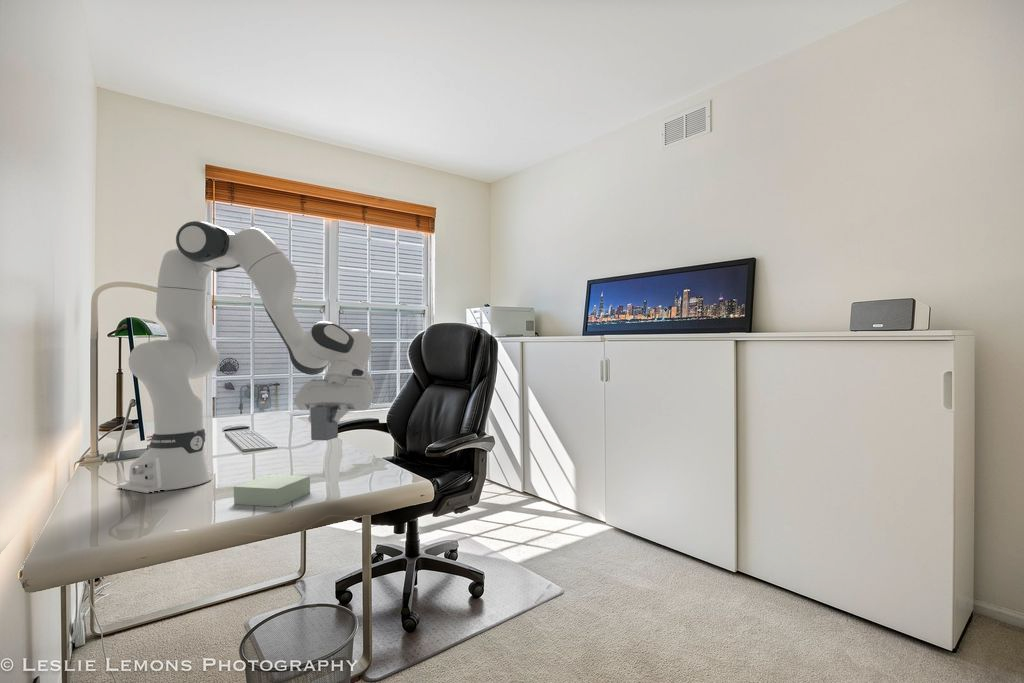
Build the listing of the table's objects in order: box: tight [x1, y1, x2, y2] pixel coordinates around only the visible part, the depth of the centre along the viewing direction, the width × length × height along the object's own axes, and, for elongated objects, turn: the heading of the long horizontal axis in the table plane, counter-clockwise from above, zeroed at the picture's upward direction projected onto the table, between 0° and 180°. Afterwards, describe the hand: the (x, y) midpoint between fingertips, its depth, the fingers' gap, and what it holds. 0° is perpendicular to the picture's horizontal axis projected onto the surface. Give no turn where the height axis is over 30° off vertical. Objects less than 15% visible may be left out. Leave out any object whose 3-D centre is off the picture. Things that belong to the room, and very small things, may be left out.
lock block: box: [310, 406, 339, 441], centre depth 127 cm, size 4×4×8 cm
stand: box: [233, 474, 311, 508], centre depth 119 cm, size 12×11×4 cm
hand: (322, 421), depth 126 cm, fingers closed on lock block, 5 cm apart
